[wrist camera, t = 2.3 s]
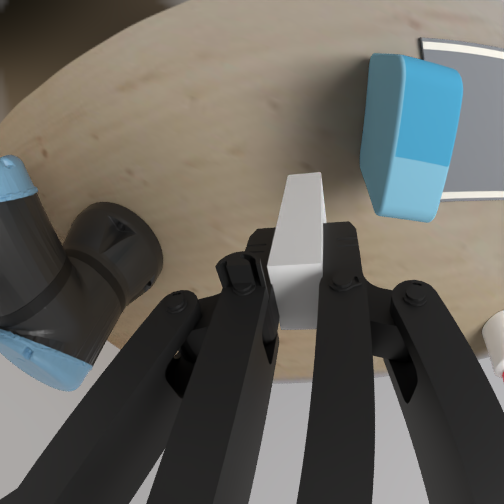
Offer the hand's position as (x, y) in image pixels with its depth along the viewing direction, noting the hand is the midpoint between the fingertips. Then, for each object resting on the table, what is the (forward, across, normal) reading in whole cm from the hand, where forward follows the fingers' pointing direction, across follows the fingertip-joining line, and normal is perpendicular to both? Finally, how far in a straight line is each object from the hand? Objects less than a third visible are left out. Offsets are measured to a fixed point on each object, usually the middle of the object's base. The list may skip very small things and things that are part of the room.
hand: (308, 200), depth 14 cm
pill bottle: (+19, +30, -34) cm, 49 cm away
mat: (+18, +22, -1) cm, 28 cm away
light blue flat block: (+19, +8, 0) cm, 20 cm away
